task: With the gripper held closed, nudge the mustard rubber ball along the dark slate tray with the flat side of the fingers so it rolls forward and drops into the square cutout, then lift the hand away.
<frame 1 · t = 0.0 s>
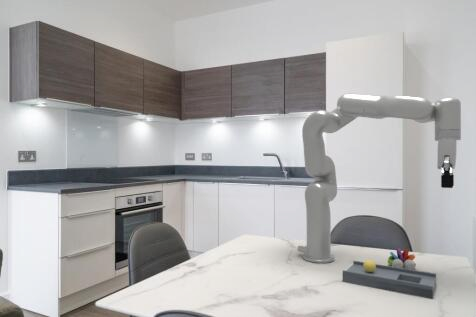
hand: (447, 186, 116), 31 cm above the table, fingers open, 9 cm apart
tray: (388, 282, 113), on the table
ball: (369, 266, 116), point 4 cm above the table, touching tray
rainbow white-lobed toy: (401, 268, 129), on the table
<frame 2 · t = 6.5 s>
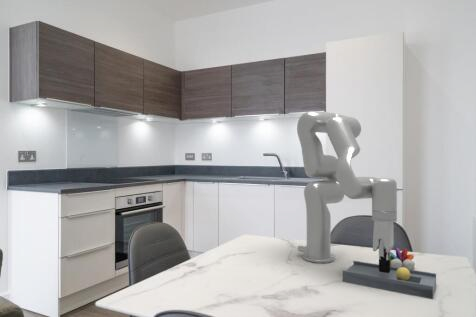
hand: (384, 271, 113), 3 cm above the table, fingers closed
ball: (403, 273, 110), point 4 cm above the table, tilted 61°
everything else where it was.
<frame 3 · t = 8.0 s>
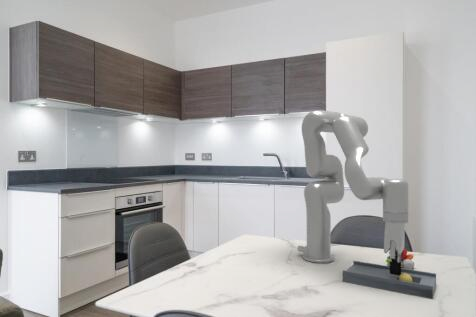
hand: (395, 273, 112), 3 cm above the table, fingers closed
ball: (405, 279, 110), point 2 cm above the table, tilted 21°, touching gripper
everything else where it was.
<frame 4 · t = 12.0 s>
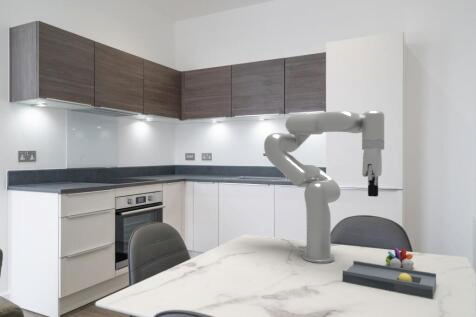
hand: (373, 196, 125), 27 cm above the table, fingers closed
ball: (404, 279, 110), point 2 cm above the table, tilted 24°
everything else where it was.
at the end: ball 1.2 cm from the target spot on the tray, point 2.0 cm above the tray's base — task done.
